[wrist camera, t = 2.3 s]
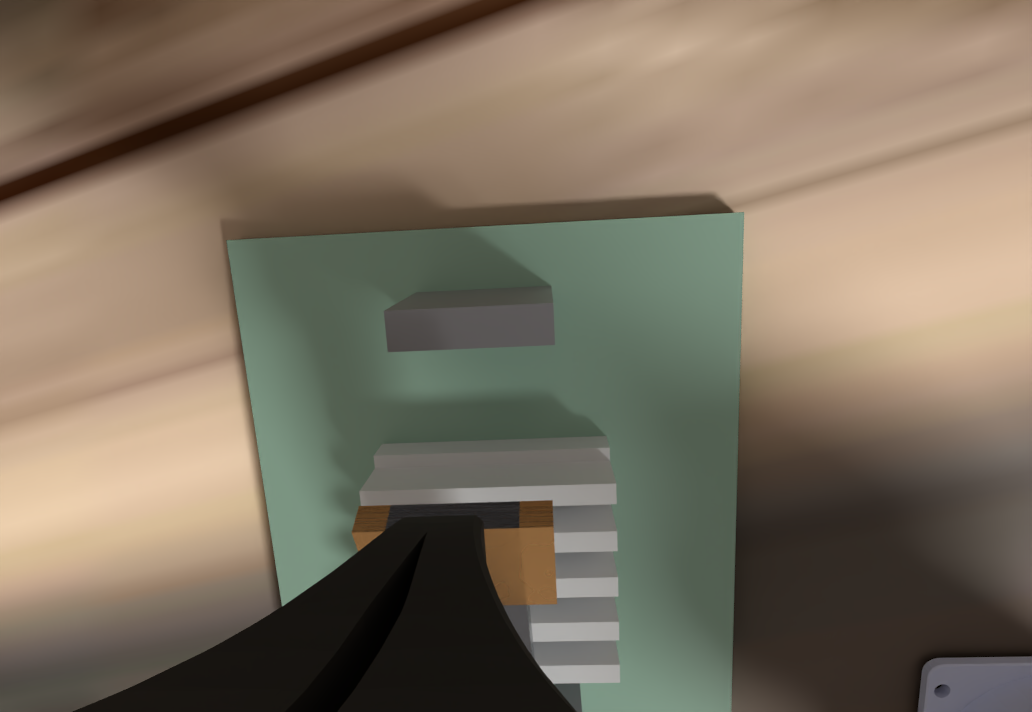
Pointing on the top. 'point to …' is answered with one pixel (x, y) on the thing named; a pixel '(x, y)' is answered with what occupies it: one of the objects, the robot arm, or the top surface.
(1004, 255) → the top surface
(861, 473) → the top surface
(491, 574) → the brown and grey bar
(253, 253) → the heatsink board
